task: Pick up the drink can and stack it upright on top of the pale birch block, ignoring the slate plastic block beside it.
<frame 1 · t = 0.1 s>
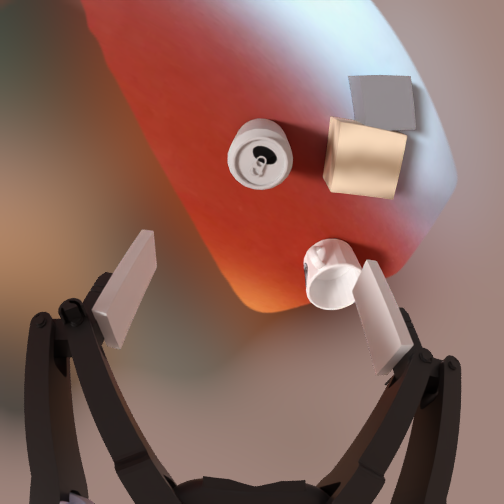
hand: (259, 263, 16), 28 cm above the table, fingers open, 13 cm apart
can: (261, 141, 38), on the table
mug: (325, 254, 50), on the table
birch block: (357, 151, 38), on the table
slate block: (376, 99, 33), on the table
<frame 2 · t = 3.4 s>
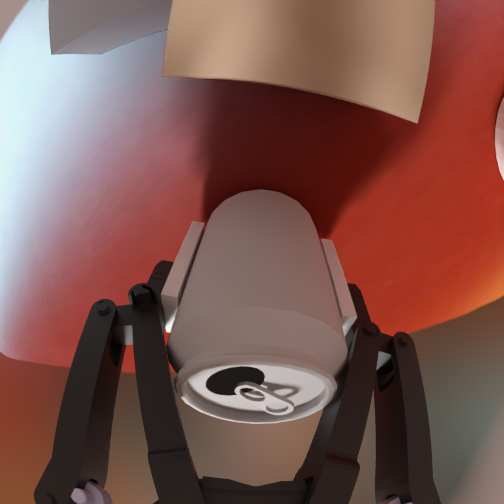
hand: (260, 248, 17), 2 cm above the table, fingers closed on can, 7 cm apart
can: (260, 233, 19), on the table, touching gripper
birch block: (298, 12, 10), on the table
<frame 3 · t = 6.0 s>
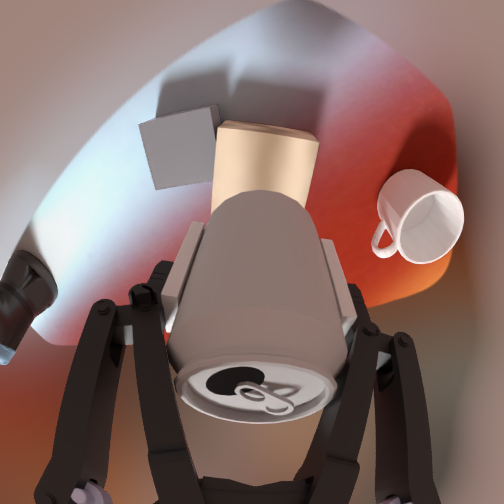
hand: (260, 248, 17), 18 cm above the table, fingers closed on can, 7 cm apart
can: (260, 233, 19), point 16 cm above the table, touching gripper
mug: (398, 204, 34), on the table
birch block: (262, 163, 32), on the table
slate block: (191, 140, 31), on the table
when the fingers open (9 cm above the table, at t = 8.4 s): can drops 1 cm, resting on birch block.
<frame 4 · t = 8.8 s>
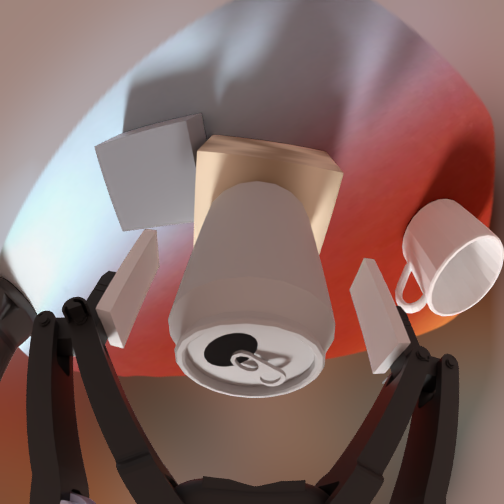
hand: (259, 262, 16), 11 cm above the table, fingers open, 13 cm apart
can: (257, 223, 20), point 6 cm above the table, touching birch block
mug: (425, 239, 27), on the table
birch block: (261, 192, 25), on the table
slate block: (168, 162, 23), on the table
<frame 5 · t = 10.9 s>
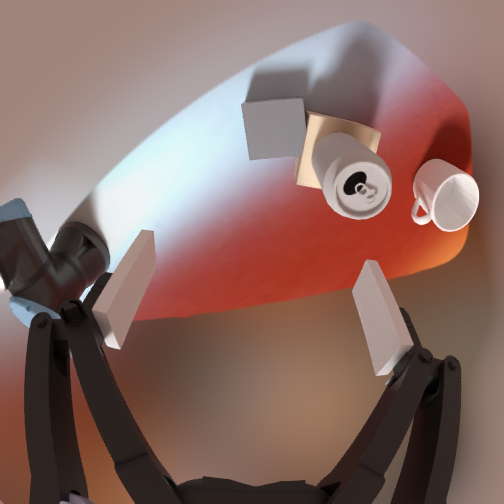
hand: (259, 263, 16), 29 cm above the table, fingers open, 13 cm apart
can: (337, 157, 34), point 6 cm above the table, touching birch block
mug: (428, 186, 40), on the table
birch block: (330, 147, 38), on the table
slate block: (275, 124, 37), on the table
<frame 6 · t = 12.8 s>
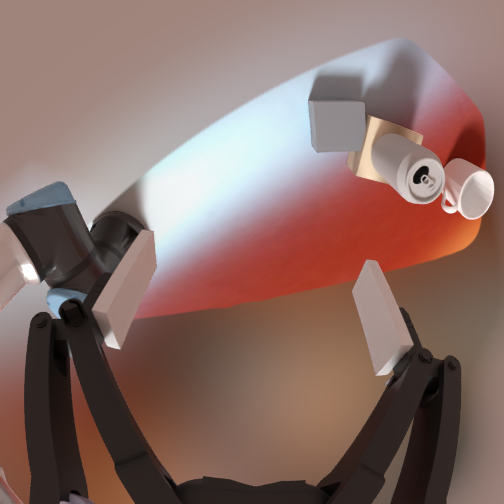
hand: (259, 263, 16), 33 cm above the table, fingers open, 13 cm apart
can: (389, 154, 37), point 6 cm above the table, touching birch block
mug: (451, 181, 44), on the table
birch block: (377, 145, 41), on the table
slate block: (333, 122, 40), on the table
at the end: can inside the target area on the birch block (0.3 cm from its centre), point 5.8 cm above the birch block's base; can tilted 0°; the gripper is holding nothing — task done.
